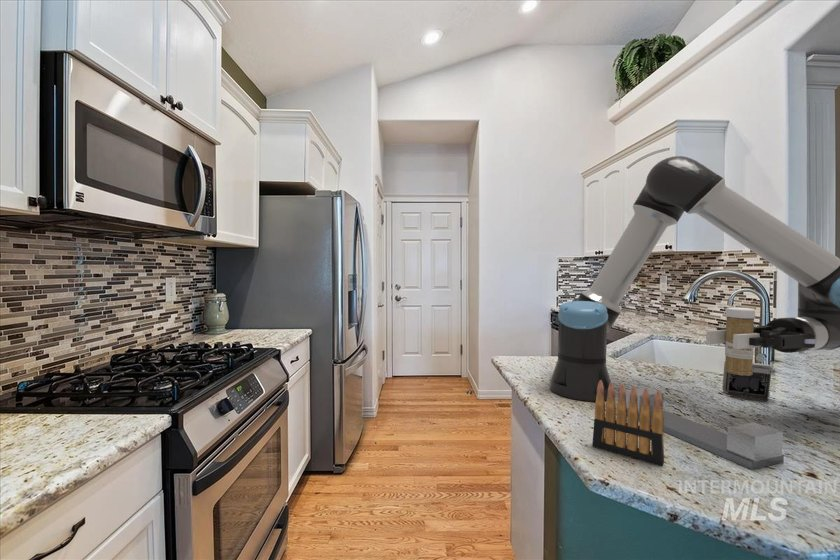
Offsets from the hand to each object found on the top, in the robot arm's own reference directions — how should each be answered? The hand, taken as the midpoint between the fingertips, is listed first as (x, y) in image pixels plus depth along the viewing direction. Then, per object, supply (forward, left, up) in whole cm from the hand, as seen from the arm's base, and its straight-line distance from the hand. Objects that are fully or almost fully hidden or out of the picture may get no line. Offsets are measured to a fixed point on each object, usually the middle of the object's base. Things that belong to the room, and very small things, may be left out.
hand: (721, 339), depth 75 cm
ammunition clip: (-19, -19, -18) cm, 33 cm away
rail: (-6, -5, -18) cm, 20 cm away
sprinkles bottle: (+4, +3, -7) cm, 9 cm away
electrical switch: (+15, +28, -18) cm, 37 cm away
